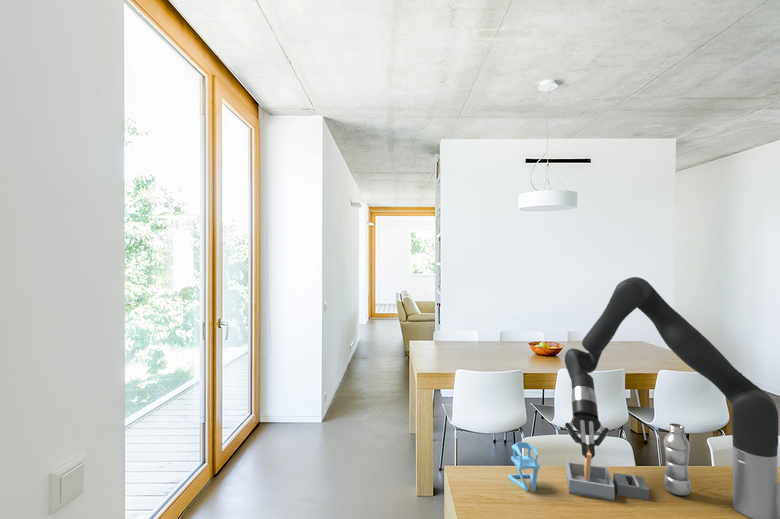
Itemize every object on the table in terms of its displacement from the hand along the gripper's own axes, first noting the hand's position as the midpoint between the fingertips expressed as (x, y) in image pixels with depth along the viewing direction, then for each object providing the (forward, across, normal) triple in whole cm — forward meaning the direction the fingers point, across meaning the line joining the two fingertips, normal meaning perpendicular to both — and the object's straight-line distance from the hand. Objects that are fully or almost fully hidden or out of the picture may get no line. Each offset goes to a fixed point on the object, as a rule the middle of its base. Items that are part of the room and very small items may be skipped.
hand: (588, 457), depth 124 cm
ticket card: (+2, 0, +8) cm, 9 cm away
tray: (+6, 0, +8) cm, 10 cm away
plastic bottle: (+2, +25, +11) cm, 27 cm away
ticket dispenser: (+5, +12, +9) cm, 15 cm away
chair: (+10, -18, +4) cm, 21 cm away
